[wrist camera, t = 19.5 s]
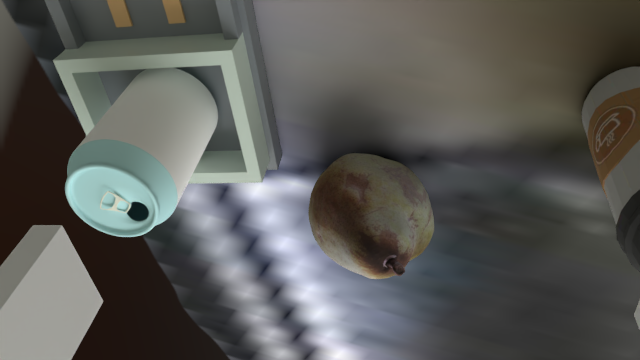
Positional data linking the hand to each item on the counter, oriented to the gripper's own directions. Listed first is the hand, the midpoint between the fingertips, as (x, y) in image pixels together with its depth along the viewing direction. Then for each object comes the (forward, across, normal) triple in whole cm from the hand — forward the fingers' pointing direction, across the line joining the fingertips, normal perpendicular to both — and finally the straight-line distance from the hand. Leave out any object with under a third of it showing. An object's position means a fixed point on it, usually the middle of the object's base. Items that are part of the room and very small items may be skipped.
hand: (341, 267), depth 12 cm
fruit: (+29, -2, -20) cm, 35 cm away
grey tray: (+29, -16, -6) cm, 34 cm away
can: (+27, -16, -10) cm, 33 cm away
